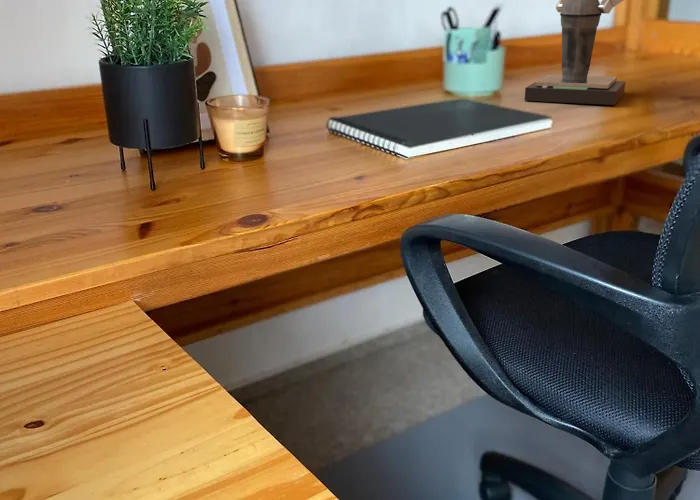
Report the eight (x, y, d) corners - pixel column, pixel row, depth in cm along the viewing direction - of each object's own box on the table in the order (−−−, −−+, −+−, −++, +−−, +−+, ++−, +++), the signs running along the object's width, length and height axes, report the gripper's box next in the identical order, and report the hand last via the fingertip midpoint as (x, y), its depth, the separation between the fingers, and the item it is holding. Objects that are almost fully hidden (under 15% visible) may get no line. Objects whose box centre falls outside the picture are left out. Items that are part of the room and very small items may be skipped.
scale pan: (616, 81, 137) (616, 76, 136) (608, 88, 127) (608, 84, 127) (547, 78, 142) (548, 74, 142) (535, 86, 133) (535, 81, 133)
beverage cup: (602, 78, 134) (615, -37, 126) (577, 83, 130) (588, -35, 122) (571, 73, 139) (582, -37, 132) (546, 78, 136) (555, -35, 128)
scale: (624, 93, 138) (625, 79, 137) (614, 105, 127) (616, 89, 126) (540, 90, 145) (541, 76, 144) (524, 100, 133) (525, 85, 132)
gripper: (566, -58, 138) (529, -3, 136) (664, -65, 122) (623, -2, 120) (579, -33, 142) (542, 21, 140) (675, -37, 126) (635, 24, 124)
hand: (580, 10), depth 130 cm, fingers open, 8 cm apart
